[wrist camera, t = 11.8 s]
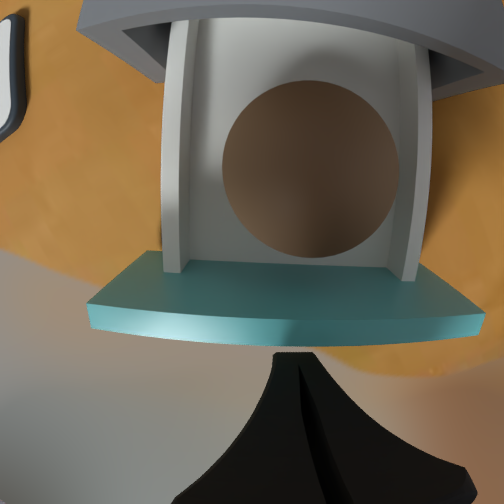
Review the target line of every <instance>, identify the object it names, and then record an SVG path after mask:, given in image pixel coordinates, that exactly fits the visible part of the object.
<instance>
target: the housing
mask: <svg viewBox="0 0 504 504" xmlns="http://www.w3.org/2000/svg"><path fill="white" fill-rule="evenodd" d="M210 18H274V19H289V20H300V21H309V22H317V23H324V24H331V25H337V26H343V27H348V28H354V29H359V30H363V31H368V32H372V33H376V34H380V35H384V36H388V37H392V38H396V39H399V40H403V41H406V42H409V43H412V44H416V45H419V46H422V47H425V48H428V53H429V63H430V75H431V91H432V102H433V101H436V100H440V99H443V98H447V97H451V96H454V95H458V94H462V93H466V92H470V91H474V90H478V89H482V88H486V87H491V86H495V85H500V84H504V7H503V4H502V1H501V0H84V1H83V5H82V8H81V12H80V16H79V20H78V24H77V28H76V31H78V32H79V33H81V34H83V35H84V36H86V37H88V38H89V39H91V40H92V41H94V42H96V43H97V44H99V45H100V46H102V47H103V48H105V49H107V50H108V51H110V52H111V53H113V54H114V55H116V56H117V57H119V58H120V59H122V60H123V61H125V62H126V63H128V64H129V65H131V66H132V67H133V68H135V69H136V70H138V71H139V72H141V73H142V74H144V75H145V76H146V77H148V78H149V79H151V80H152V81H153V82H155V83H163V82H165V77H166V66H167V56H168V47H169V39H170V31H171V23H172V22H175V21H184V20H195V19H210Z"/></svg>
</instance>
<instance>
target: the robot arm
mask: <svg viewBox="0 0 504 504" xmlns="http://www.w3.org/2000/svg"><path fill="white" fill-rule="evenodd" d="M476 496H477V490H476V488H475V486H474V483H473V482H472V479H471V477H470V475H469V474H468V472H467V470H466V469H465V467H461V466H459V465H456V464H453V463H450V462H447V461H444V460H442V459H439V458H436V457H434V456H432V455H430V454H428V453H425V452H424V451H422V450H419V449H417V448H416V447H414V446H412V445H410V444H408V443H406V442H405V441H403V440H401V439H400V438H398V437H397V436H395V435H394V434H392V433H391V432H389V431H388V430H386V429H385V428H384V427H382V426H381V425H380V424H378V423H377V422H376V421H375V420H373V419H372V418H371V417H369V415H367V414H366V413H365V412H364V411H363V410H362V409H361V408H360V407H359V406H358V405H357V404H356V403H355V402H354V401H353V400H352V399H351V398H350V397H349V396H348V395H347V394H346V393H345V392H344V391H343V390H342V388H341V387H340V386H339V385H338V384H337V383H336V381H335V380H334V379H333V378H332V377H331V375H330V374H329V373H328V372H327V371H326V369H325V368H324V366H323V365H322V364H321V362H320V361H319V360H318V358H317V357H316V355H315V354H314V353H313V352H276V353H275V354H274V355H273V362H272V369H271V373H270V376H269V379H268V382H267V384H266V387H265V389H264V392H263V394H262V396H261V398H260V400H259V402H258V404H257V406H256V408H255V410H254V412H253V414H252V415H251V417H250V419H249V420H248V422H247V423H246V425H245V426H244V428H243V429H242V431H241V432H240V434H239V435H238V436H237V438H236V439H235V440H234V441H233V443H232V444H231V445H230V447H229V448H228V449H227V450H226V452H225V453H224V454H223V455H222V456H221V457H220V458H219V459H218V460H217V461H216V462H215V463H214V464H213V465H212V466H211V467H210V468H209V469H208V470H207V471H206V472H205V473H204V474H203V475H202V476H201V477H200V478H199V479H197V481H195V482H194V483H193V484H191V485H190V486H189V487H188V488H187V489H185V490H184V491H183V492H181V493H180V494H179V495H177V496H176V497H175V498H174V500H173V502H172V503H171V504H471V503H472V502H473V501H474V500H475V498H476ZM0 504H6V503H5V502H3V501H2V500H0Z"/></svg>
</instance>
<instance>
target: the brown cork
mask: <svg viewBox="0 0 504 504" xmlns="http://www.w3.org/2000/svg"><path fill="white" fill-rule="evenodd" d="M222 175H223V183H224V188H225V192H226V195H227V198H228V200H229V203H230V205H231V207H232V209H233V211H234V213H235V214H236V216H237V217H238V219H239V220H240V222H241V223H242V224H243V225H244V227H245V228H246V229H247V230H248V231H249V232H250V233H251V234H252V235H253V236H255V237H256V238H257V239H258V240H260V241H261V242H263V243H264V244H266V245H267V246H269V247H271V248H273V249H275V250H277V251H279V252H282V253H285V254H288V255H292V256H297V257H304V258H323V257H328V256H334V255H337V254H340V253H343V252H346V251H348V250H350V249H352V248H354V247H356V246H357V245H359V244H361V243H362V242H364V241H365V240H366V239H367V238H369V237H370V236H371V235H372V234H373V233H374V232H375V231H376V230H377V229H378V228H379V227H380V225H381V224H382V223H383V221H384V220H385V218H386V217H387V215H388V213H389V211H390V209H391V207H392V205H393V202H394V200H395V196H396V192H397V188H398V181H399V161H398V154H397V150H396V146H395V142H394V140H393V137H392V135H391V133H390V131H389V129H388V127H387V125H386V123H385V122H384V120H383V119H382V118H381V116H380V115H379V114H378V112H377V111H376V110H375V109H374V108H373V107H372V106H371V105H370V104H369V103H368V102H366V101H365V100H364V99H363V98H361V97H360V96H358V95H357V94H355V93H353V92H352V91H350V90H348V89H346V88H343V87H341V86H339V85H335V84H332V83H328V82H323V81H315V80H302V81H294V82H289V83H285V84H281V85H279V86H276V87H274V88H271V89H269V90H268V91H266V92H264V93H262V94H261V95H259V96H258V97H257V98H255V99H254V100H253V101H252V102H250V103H249V104H248V105H247V106H246V107H245V109H244V110H243V111H242V112H241V113H240V115H239V116H238V117H237V119H236V120H235V122H234V124H233V126H232V127H231V129H230V131H229V134H228V137H227V139H226V142H225V147H224V151H223V159H222Z"/></svg>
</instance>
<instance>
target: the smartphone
mask: <svg viewBox="0 0 504 504" xmlns="http://www.w3.org/2000/svg"><path fill="white" fill-rule="evenodd" d="M24 32H25V20H24V18H23V17H21V16H19V15H17V14H11V15H8V16H6V17H5V18H4V19H3V20H1V21H0V143H1V142H2V141H3V140H4V139H6V138H7V137H8V136H10V135H11V134H12V133H13V132H15V131H16V130H17V129H18V128H19V126H20V125H21V123H22V121H23V119H24V116H25V113H26V107H27V98H26V86H25V67H24Z"/></svg>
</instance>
